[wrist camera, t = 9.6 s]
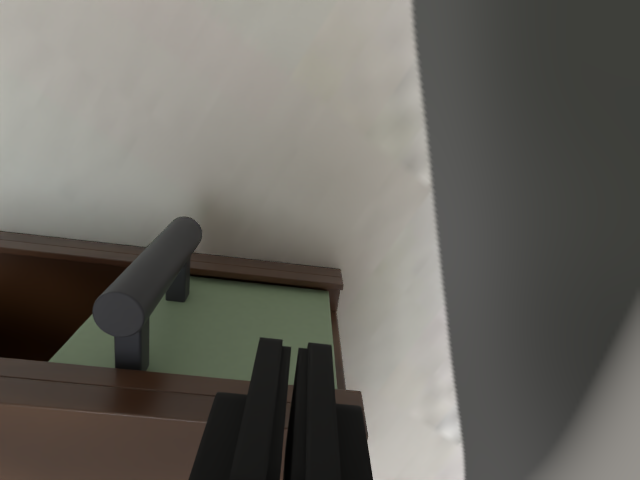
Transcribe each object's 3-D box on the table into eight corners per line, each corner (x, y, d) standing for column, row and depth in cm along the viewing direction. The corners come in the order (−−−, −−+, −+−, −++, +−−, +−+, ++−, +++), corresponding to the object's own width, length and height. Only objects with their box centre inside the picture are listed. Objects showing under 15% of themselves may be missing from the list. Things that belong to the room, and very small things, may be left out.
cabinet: (-41, 226, 21) (-385, 369, 11) (340, 268, 22) (369, 435, 12) (-12, 427, 25) (-242, 676, 14) (311, 455, 26) (312, 704, 16)
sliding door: (132, 201, 19) (10, 284, 11) (338, 225, 20) (357, 321, 12) (133, 284, 21) (24, 411, 13) (326, 305, 21) (336, 438, 13)
